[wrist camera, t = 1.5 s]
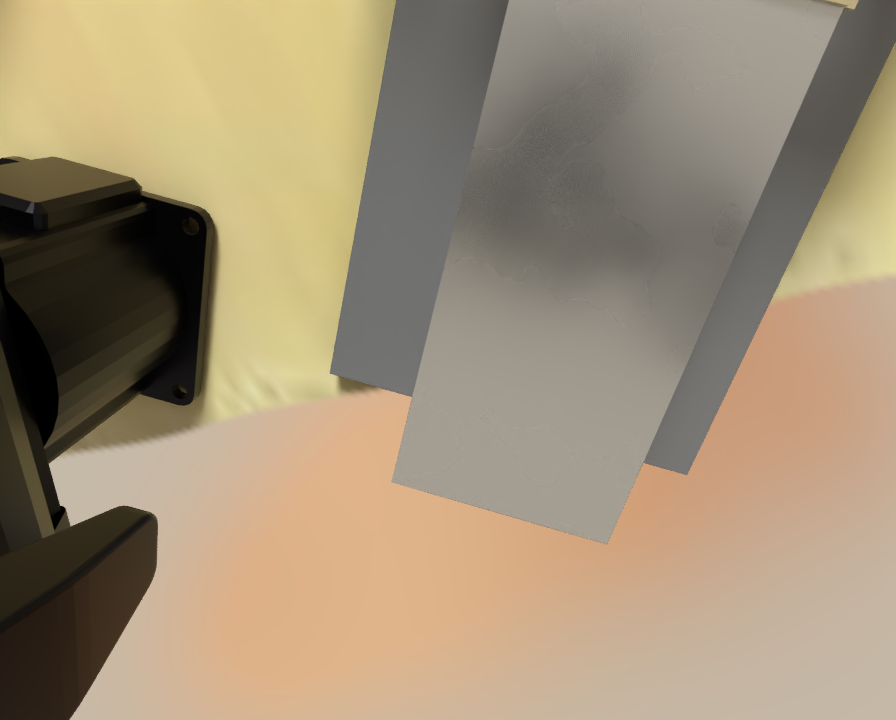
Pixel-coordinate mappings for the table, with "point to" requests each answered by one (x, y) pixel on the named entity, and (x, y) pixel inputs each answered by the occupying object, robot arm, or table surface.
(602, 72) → the grey long block
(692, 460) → the board
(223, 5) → the table surface
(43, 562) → the robot arm
